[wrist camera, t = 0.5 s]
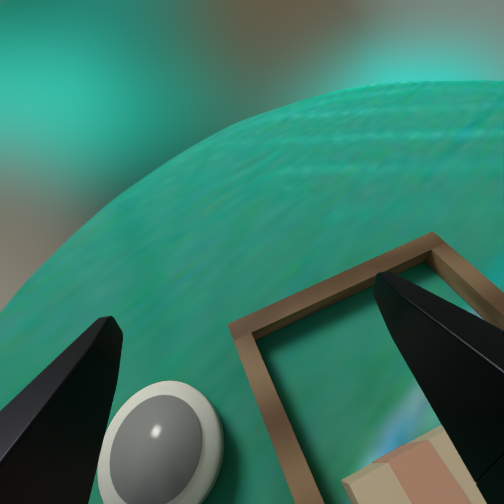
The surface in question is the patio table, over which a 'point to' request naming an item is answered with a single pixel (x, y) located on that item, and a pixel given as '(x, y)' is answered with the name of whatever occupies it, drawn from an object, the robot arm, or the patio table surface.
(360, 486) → the carton
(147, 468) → the push light
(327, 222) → the patio table surface
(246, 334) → the display bay
